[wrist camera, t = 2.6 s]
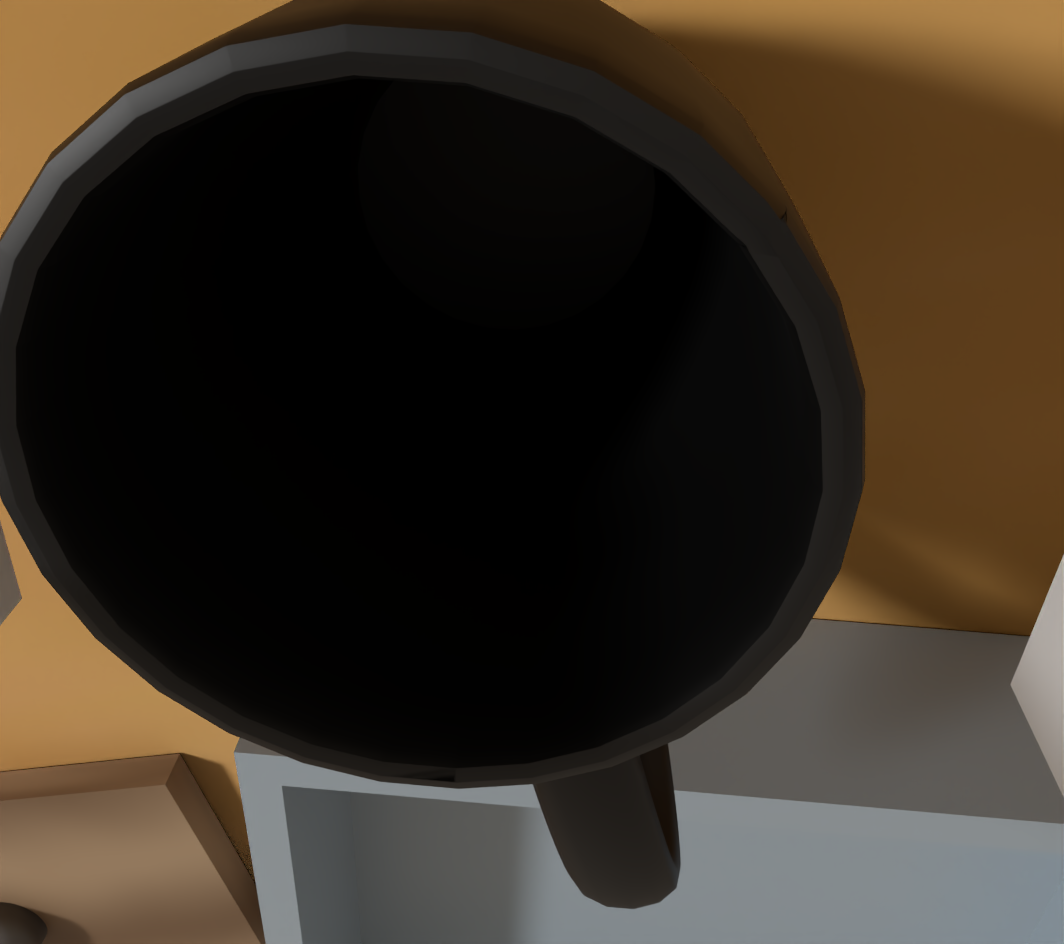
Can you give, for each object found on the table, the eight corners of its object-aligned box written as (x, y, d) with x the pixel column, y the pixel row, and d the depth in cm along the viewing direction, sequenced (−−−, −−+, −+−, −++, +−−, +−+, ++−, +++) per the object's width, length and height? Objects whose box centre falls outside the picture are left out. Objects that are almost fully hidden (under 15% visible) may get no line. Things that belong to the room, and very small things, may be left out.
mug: (434, 581, 22) (332, 1008, 14) (187, 9, 16) (-238, 187, 8) (812, 508, 20) (941, 947, 12) (695, -161, 14) (799, -151, 6)
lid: (-277, 800, 28) (-339, 869, 26) (179, 753, 26) (146, 825, 24) (-87, 999, 33) (-129, 1068, 31) (307, 975, 31) (287, 1048, 29)
